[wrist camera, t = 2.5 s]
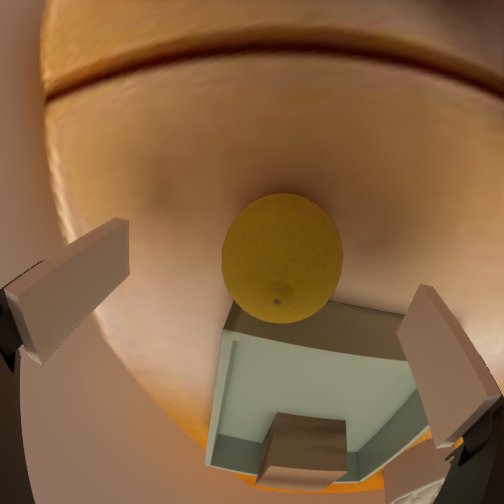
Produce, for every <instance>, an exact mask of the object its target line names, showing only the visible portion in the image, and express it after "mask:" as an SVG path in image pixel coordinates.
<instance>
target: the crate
mask: <svg viewBox="0 0 504 504" xmlns="http://www.w3.org/2000/svg"><path fill="white" fill-rule="evenodd" d="M404 316H405V315H399V314H394V313H388V312H383V311H378V310H372V309H367V308H362V307H357V306H352V305H346V304H341V303H336V302H332V301H327V303H326V304H325V305H324V306H323V307H322V308H321V309H319V310H318V311H317V312H316V313H314V314H313V315H311V316H309V317H307V318H305V319H303V320H300V321H296V322H292V323H272V322H266V321H263V320H260V319H258V318H255V317H253V316H252V315H250V314H249V313H247V312H246V311H244V310H243V309H242V308H241V307H240V306H239V305H238V304H237V303H236V302H235V300H234V302H233V304H232V307H231V309H230V312H229V315H228V317H227V320H226V323H225V325H224V328H223V333H222V340H221V347H220V354H219V361H218V368H217V375H216V382H215V389H214V397H213V404H212V411H211V419H210V427H209V434H208V442H207V450H206V459H205V465H206V466H210V467H215V468H219V469H223V470H227V471H232V472H236V473H241V474H247V475H252V476H257V473H258V467H259V461H260V456H261V450H262V444H263V440H264V438H265V436H266V434H267V432H268V430H269V428H270V426H271V424H272V422H273V420H274V418H275V416H276V414H277V412H280V413H286V414H293V415H300V416H307V417H315V418H324V419H334V420H346V436H347V458H348V472H346V473H345V474H344V475H342V476H341V477H340V478H338V479H337V480H336V481H334V482H333V483H361V482H363V481H364V480H366V479H367V478H369V477H370V476H371V475H373V474H374V473H376V472H377V471H378V470H380V469H381V468H383V467H384V466H385V465H387V464H388V463H389V462H390V461H392V460H393V459H394V458H396V457H397V456H398V455H399V454H401V453H402V452H403V451H404V450H405V449H407V448H408V447H409V446H410V445H411V444H412V443H414V442H415V441H416V440H417V439H418V438H419V437H420V436H421V435H422V434H424V433H425V432H426V431H427V430H428V429H429V428H430V426H429V423H428V419H427V416H426V413H425V410H424V406H423V403H422V400H421V397H420V394H419V391H418V388H417V386H416V383H415V380H414V377H413V374H412V372H411V369H410V366H409V364H408V361H407V358H406V356H405V353H404V351H403V348H402V346H401V343H400V341H399V338H398V336H397V334H396V332H397V330H398V328H399V326H400V324H401V322H402V320H403V318H404Z"/></svg>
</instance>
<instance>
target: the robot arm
mask: <svg viewBox="0 0 504 504" xmlns="http://www.w3.org/2000/svg"><path fill="white" fill-rule="evenodd" d="M129 275H130V271H129V220H124V219H119V218H114V219H112V220H110V221H108V222H106V223H105V224H103V225H101V226H99V227H98V228H96V229H94V230H92V231H91V232H89V233H87V234H85V235H84V236H82V237H80V238H79V239H77V240H75V241H74V242H72V243H70V244H69V245H67V246H66V247H64V248H62V249H61V250H59V251H58V252H56V253H54V254H53V255H52V256H50V257H48V258H47V259H45V260H43V261H40V262H38V263H37V264H35V265H34V266H33V267H31V269H28V270H27V271H25V272H24V273H23V274H21V275H19V276H18V277H17V278H15V279H14V280H12V281H11V282H10V283H8V284H7V285H6V286H4V287H3V288H2V289H0V504H35V501H34V498H33V494H32V490H31V486H30V481H29V477H28V471H27V466H26V460H25V454H24V447H23V438H22V428H21V415H20V359H21V356H20V351H19V349H18V348H19V347H20V346H21V345H22V344H23V345H24V347H25V350H26V352H27V354H28V356H29V357H30V358H32V359H33V360H35V361H37V362H38V363H40V364H41V365H43V364H44V363H45V362H46V361H47V360H48V359H49V358H50V356H51V355H52V354H53V353H54V352H55V351H56V350H57V349H58V348H59V346H60V345H61V344H62V343H63V342H64V341H65V340H66V339H67V338H68V337H69V336H70V334H71V333H72V332H73V331H74V330H75V329H76V328H77V327H78V326H79V325H80V324H81V323H82V322H83V321H84V320H85V319H86V318H87V317H88V316H89V315H90V313H91V312H92V311H93V310H94V309H95V308H96V307H97V306H98V305H99V304H100V303H101V302H102V301H103V300H104V299H105V298H106V297H107V296H108V295H109V294H110V293H111V292H112V291H113V290H114V289H115V288H116V287H118V286H119V285H120V284H121V283H122V282H123V281H124V280H125V279H126V278H127V277H128V276H129ZM396 334H397V336H398V338H399V341H400V343H401V346H402V348H403V351H404V353H405V356H406V358H407V361H408V364H409V366H410V369H411V372H412V374H413V377H414V380H415V383H416V386H417V388H418V391H419V394H420V397H421V400H422V403H423V406H424V410H425V413H426V416H427V419H428V423H429V426H430V429H431V433H432V436H433V440H434V444H435V448H436V449H437V448H443V447H448V446H451V445H453V444H454V443H455V442H456V441H457V440H458V439H459V438H460V437H463V440H464V442H463V443H462V444H461V445H460V446H459V447H458V448H456V449H455V450H454V451H453V452H452V453H450V454H449V455H448V456H447V457H446V458H445V461H447V460H449V459H450V458H451V457H452V456H455V457H454V459H453V460H452V461H450V462H449V463H450V464H451V467H450V469H449V472H448V474H447V476H446V478H445V481H444V483H443V485H442V487H441V489H440V491H439V493H438V495H437V497H436V499H435V501H434V503H433V504H504V397H503V395H502V393H501V391H500V389H499V387H498V385H497V383H496V382H495V380H494V378H493V376H492V374H490V371H489V369H488V367H486V364H485V362H484V361H483V359H482V357H481V356H480V355H479V353H478V352H477V350H476V348H475V347H474V345H473V344H472V342H471V341H470V339H469V337H468V336H467V334H466V333H465V331H464V330H463V328H462V327H461V325H460V324H459V322H458V321H457V320H456V318H455V317H454V315H453V314H452V312H451V311H450V310H449V308H448V307H447V305H446V304H445V303H444V301H443V300H442V299H441V297H440V296H439V294H438V293H437V292H436V290H435V289H434V288H433V287H432V286H427V285H423V284H420V285H419V287H418V289H417V292H416V294H415V296H414V298H413V300H412V302H411V304H410V306H409V308H408V310H407V312H406V314H405V316H404V318H403V320H402V322H401V324H400V326H399V328H398V330H397V332H396Z"/></svg>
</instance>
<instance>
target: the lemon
mask: <svg viewBox="0 0 504 504" xmlns="http://www.w3.org/2000/svg"><path fill="white" fill-rule="evenodd" d="M342 259H343V250H342V245H341V240H340V236H339V233H338V231H337V229H336V227H335V225H334V223H333V221H332V219H331V218H330V217H329V215H328V214H327V213H326V212H325V211H324V210H323V209H322V208H321V207H320V206H319V205H317V204H316V203H314V202H312V201H311V200H309V199H308V198H305V197H302V196H299V195H295V194H287V193H277V194H272V195H267V196H264V197H262V198H260V199H258V200H256V201H254V202H252V203H250V204H249V205H248V206H247V207H245V208H244V209H243V210H242V211H241V212H240V213H239V214H238V215H237V216H236V218H235V219H234V221H233V222H232V224H231V226H230V227H229V229H228V231H227V235H226V238H225V241H224V244H223V248H222V273H223V277H224V281H225V284H226V287H227V289H228V291H229V293H230V294H231V296H232V298H233V299H234V300H235V302H236V303H237V304H238V305H239V306H240V307H241V308H242V309H243V310H244V311H246V312H247V313H249V314H250V315H252V316H253V317H255V318H258V319H260V320H263V321H266V322H272V323H292V322H296V321H300V320H303V319H305V318H307V317H309V316H311V315H313V314H314V313H316V312H317V311H318V310H319V309H321V308H322V307H323V306H324V305H325V304H326V303H327V301H328V300H329V298H330V297H331V296H332V294H333V293H334V291H335V289H336V286H337V283H338V281H339V278H340V275H341V270H342Z"/></svg>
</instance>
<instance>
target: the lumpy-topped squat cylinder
mask: <svg viewBox="0 0 504 504" xmlns="http://www.w3.org/2000/svg"><path fill="white" fill-rule="evenodd" d="M454 450H455V446H454V444H453V445H451V446H448V447H443V448H437V449H436V448H435V444H434V440H433V438H432V439H429V440H427V441H425V442H422V443H420V444H418V445H416V446H414V447H412V448H410V449H409V450H407V451H405V452H403V453H402V454H400V455H398V456H397V457H396V458H394V459H393V460H392V461H391V462H390V463H389V464H388V465H387V466H386V468H385V469H384V470H383V477H384V489H385V504H428V503H430V502H431V501H432V500H433V498H434V497H436V496H437V495H438V493H439V491H440V489H441V487H442V485H443V483H444V481H445V478H446V476H447V474H448V472H449V469H450V467H451V464H450V463H449V462H450V461H452V460H453V459H454V457H455V456H452V457H451V458H450V459H449V460H447V461H445V458H446V457H447V456H448V455H449V454H450V453H452V452H453V451H454Z"/></svg>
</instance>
